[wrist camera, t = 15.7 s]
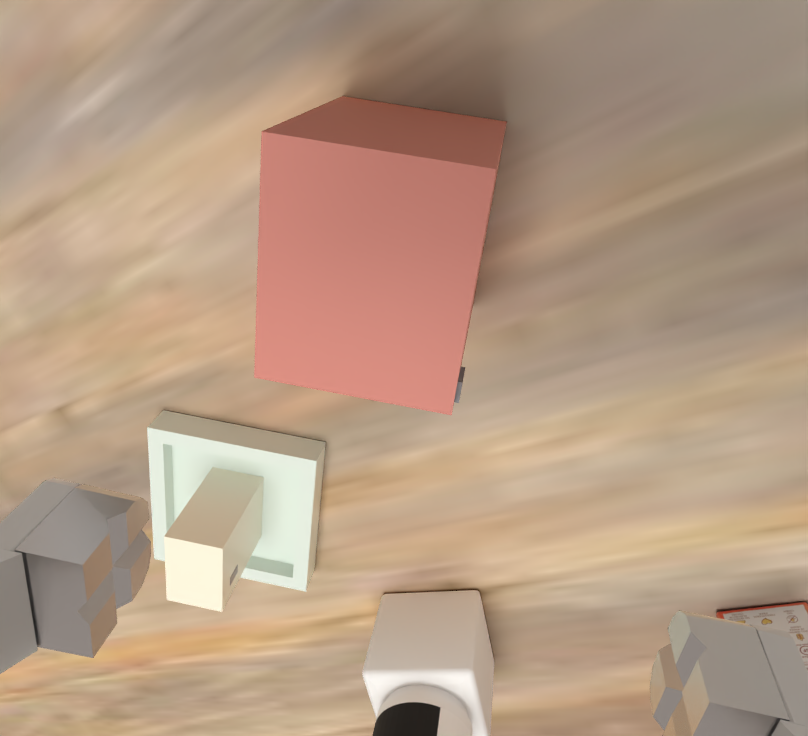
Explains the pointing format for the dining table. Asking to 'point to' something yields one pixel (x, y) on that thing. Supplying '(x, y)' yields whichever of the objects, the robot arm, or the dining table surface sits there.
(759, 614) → the cracker box
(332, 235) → the block
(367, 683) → the medicine bottle
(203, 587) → the tall beige block
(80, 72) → the dining table surface
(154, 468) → the dish
